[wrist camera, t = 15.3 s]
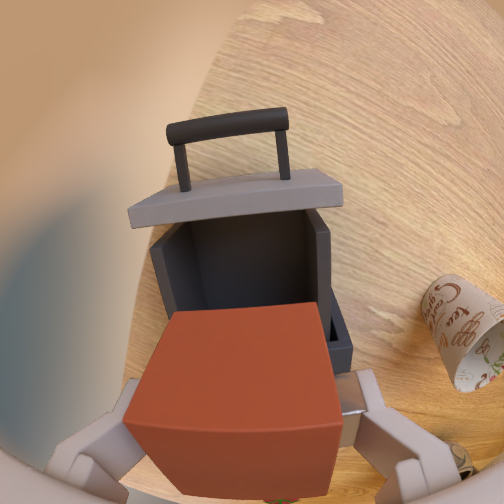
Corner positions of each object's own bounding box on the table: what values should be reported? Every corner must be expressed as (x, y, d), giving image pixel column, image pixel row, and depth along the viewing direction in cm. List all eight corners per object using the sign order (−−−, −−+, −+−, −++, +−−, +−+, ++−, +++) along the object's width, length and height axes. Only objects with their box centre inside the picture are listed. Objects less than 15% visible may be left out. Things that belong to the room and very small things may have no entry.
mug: (454, 247, 23) (515, 296, 14) (490, 310, 26) (533, 358, 17) (397, 305, 26) (440, 373, 17) (444, 356, 28) (477, 412, 19)
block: (203, 400, 11) (181, 495, 6) (173, 310, 9) (120, 420, 5) (315, 395, 10) (327, 495, 6) (316, 300, 9) (344, 423, 4)
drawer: (162, 132, 20) (113, 132, 13) (311, 112, 19) (334, 98, 12) (201, 328, 27) (182, 387, 20) (322, 319, 26) (337, 380, 19)
